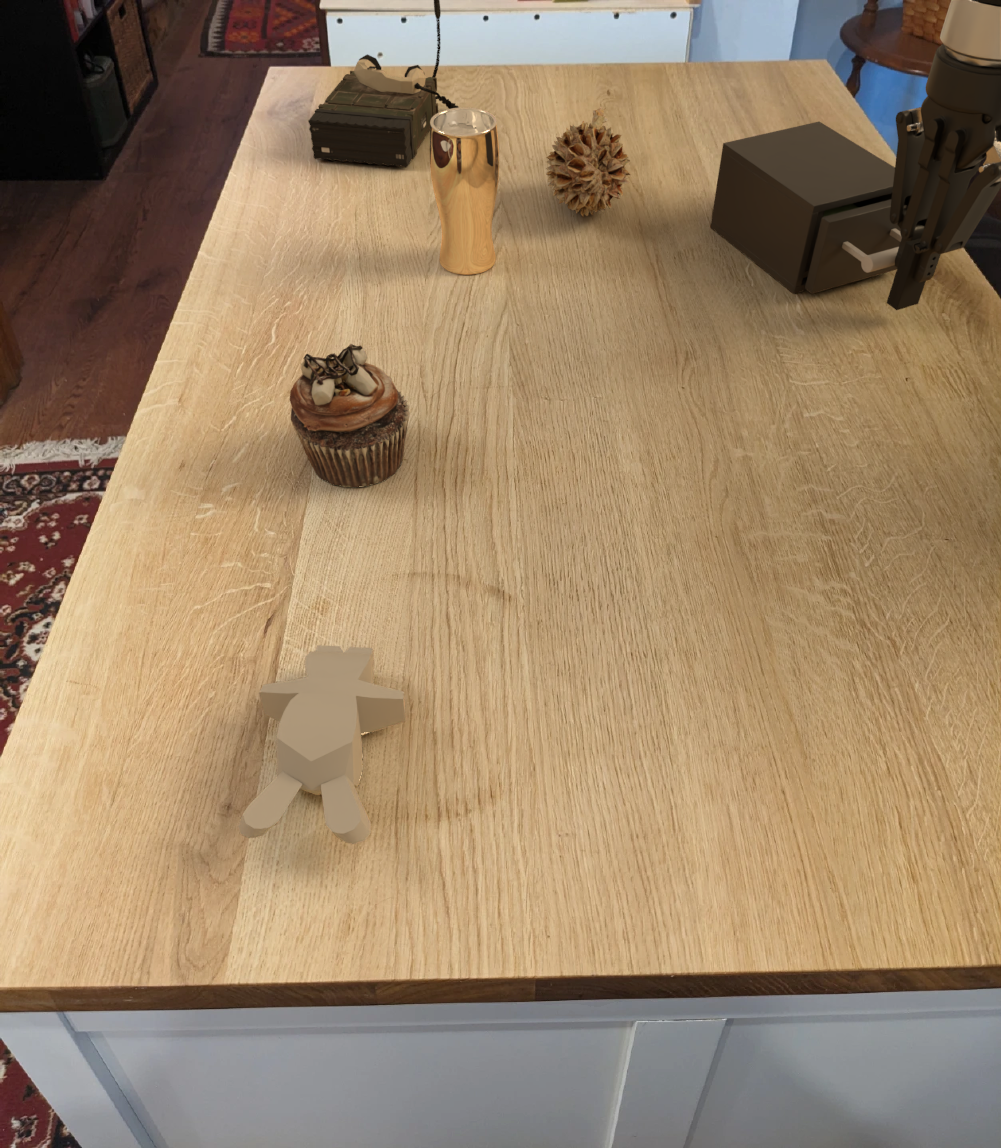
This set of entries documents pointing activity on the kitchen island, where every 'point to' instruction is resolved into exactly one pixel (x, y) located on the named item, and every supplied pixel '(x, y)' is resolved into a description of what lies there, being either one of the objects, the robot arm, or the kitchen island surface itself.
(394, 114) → the radio
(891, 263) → the drawer
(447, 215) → the beer glass
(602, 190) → the pine cone
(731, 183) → the cabinet
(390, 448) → the cupcake
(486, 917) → the kitchen island surface
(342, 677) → the teddy bear
